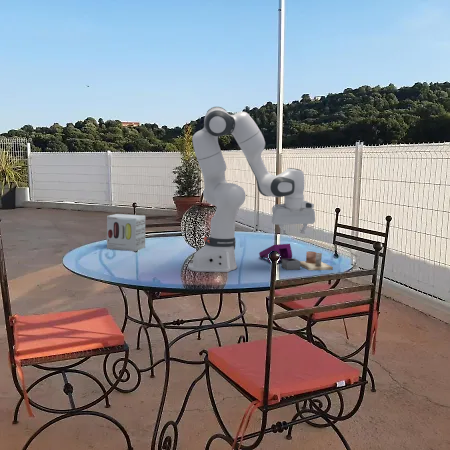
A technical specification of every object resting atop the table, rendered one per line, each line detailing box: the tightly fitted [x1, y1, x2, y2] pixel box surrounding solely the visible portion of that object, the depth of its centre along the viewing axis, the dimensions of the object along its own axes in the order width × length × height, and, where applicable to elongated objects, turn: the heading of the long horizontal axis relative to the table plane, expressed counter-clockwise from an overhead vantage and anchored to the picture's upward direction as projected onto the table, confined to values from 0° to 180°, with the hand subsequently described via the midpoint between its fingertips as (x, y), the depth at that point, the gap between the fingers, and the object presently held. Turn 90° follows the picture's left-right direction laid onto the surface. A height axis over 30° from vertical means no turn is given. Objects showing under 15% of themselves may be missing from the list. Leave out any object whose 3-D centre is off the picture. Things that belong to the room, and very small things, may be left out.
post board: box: [299, 250, 334, 271], centre depth 218 cm, size 12×14×7 cm
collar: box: [281, 257, 301, 271], centre depth 213 cm, size 6×6×4 cm
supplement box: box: [106, 213, 146, 252], centre depth 249 cm, size 17×13×18 cm
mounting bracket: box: [258, 243, 293, 264], centre depth 229 cm, size 9×8×18 cm
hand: (292, 233), depth 211 cm, fingers open, 8 cm apart
